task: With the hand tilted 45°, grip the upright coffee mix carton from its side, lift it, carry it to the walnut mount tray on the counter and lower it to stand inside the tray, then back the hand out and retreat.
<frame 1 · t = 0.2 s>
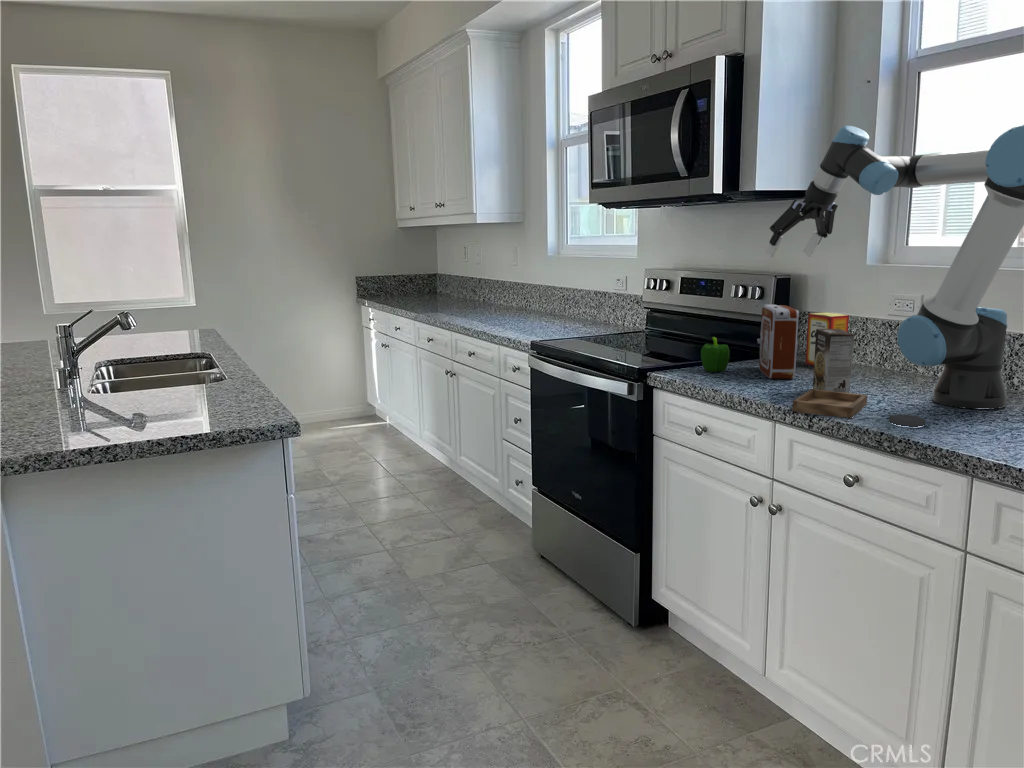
hand: (788, 254, 210), 34 cm above the worktop, tool tilted 35°, fingers open, 13 cm apart
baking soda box: (824, 366, 229), on the worktop
mount tray: (829, 408, 178), on the worktop
lens cap: (906, 425, 163), on the worktop
bell pepper: (714, 371, 224), on the worktop
vintage travel case: (774, 374, 219), on the worktop
coffee box: (830, 394, 193), on the worktop
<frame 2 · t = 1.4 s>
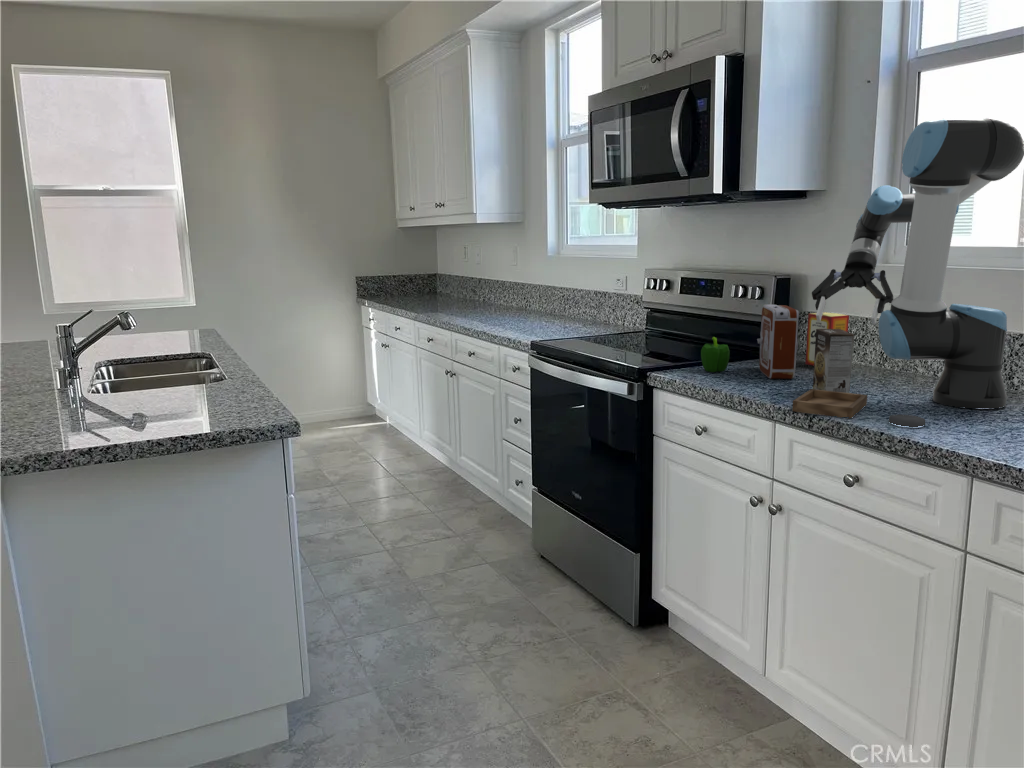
hand: (845, 320, 198), 18 cm above the worktop, tool tilted 45°, fingers open, 13 cm apart
nothing on the worktop moved.
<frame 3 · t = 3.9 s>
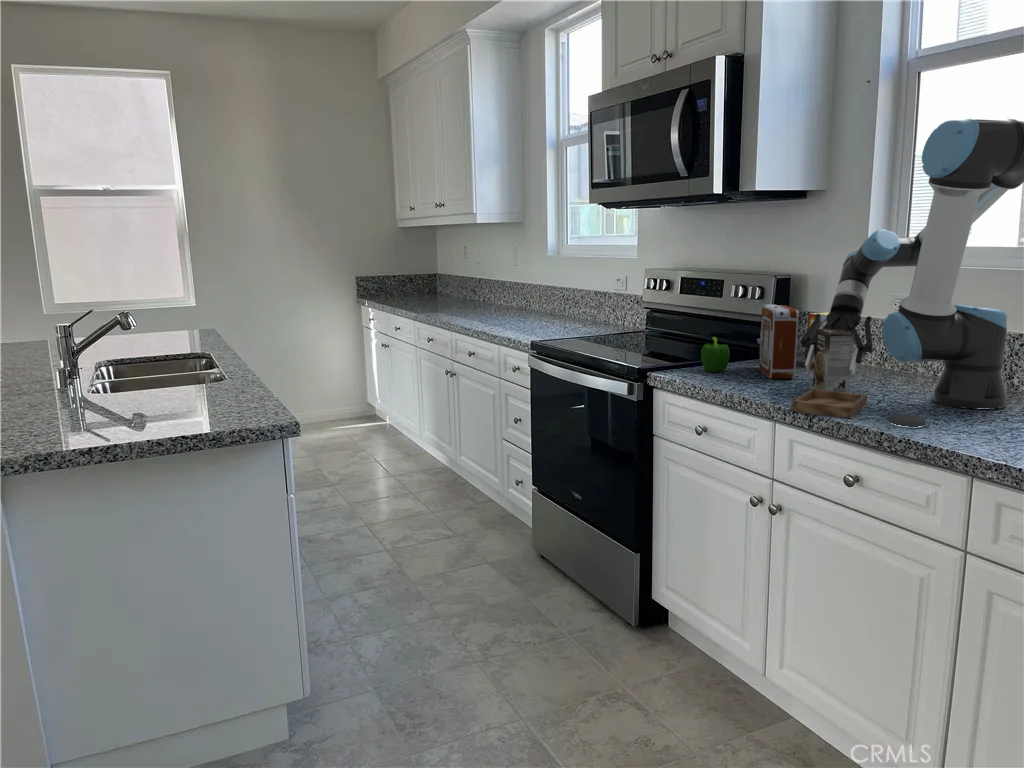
hand: (828, 370, 189), 6 cm above the worktop, tool tilted 45°, fingers closed on coffee box, 10 cm apart
coffee box: (830, 393, 193), on the worktop, touching gripper
everything else where it was.
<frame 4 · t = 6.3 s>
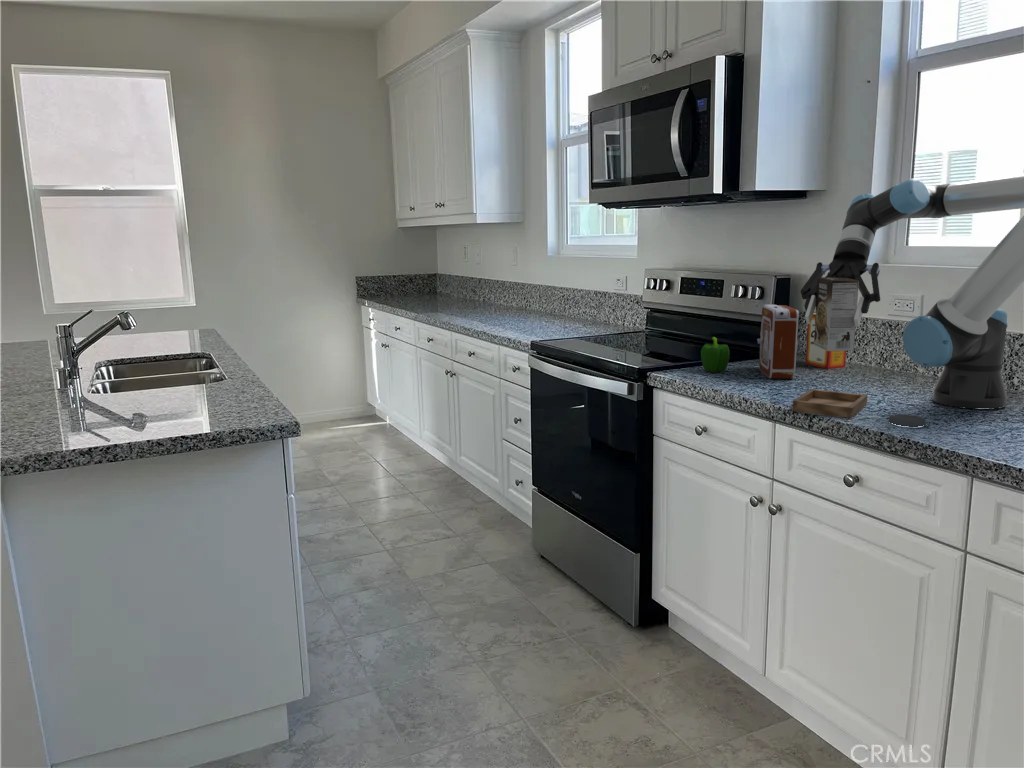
hand: (831, 321, 172), 21 cm above the worktop, tool tilted 45°, fingers closed on coffee box, 10 cm apart
coffee box: (833, 348, 175), point 14 cm above the worktop, touching gripper
everything else where it was.
when the fingers open (9 cm above the worktop, at t = 9.1 s): coffee box drops 2 cm, resting on mount tray.
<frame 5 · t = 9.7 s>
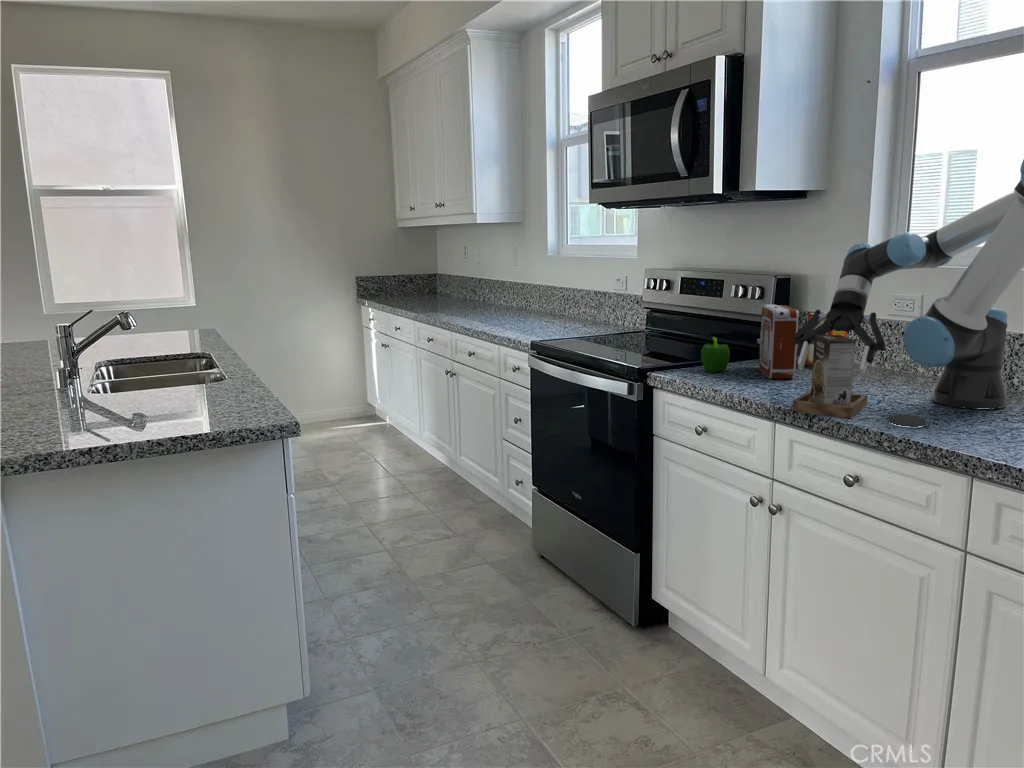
hand: (830, 369, 174), 10 cm above the worktop, tool tilted 45°, fingers open, 13 cm apart
coffee box: (829, 405, 178), point 1 cm above the worktop, touching mount tray
everything else where it was.
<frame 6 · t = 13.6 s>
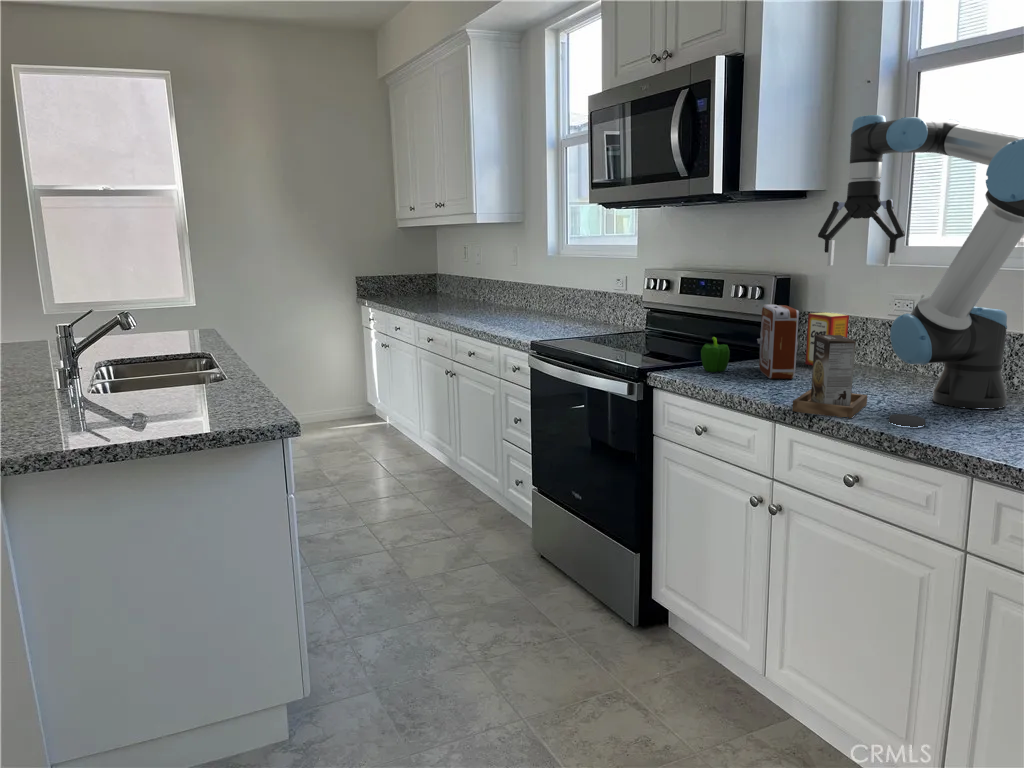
hand: (858, 266, 194), 32 cm above the worktop, tool pointing down, fingers open, 13 cm apart
nothing on the worktop moved.
at the end: coffee box inside the target area on the mount tray (0.1 cm from its centre), point 0.6 cm above the mount tray's base; coffee box tilted 0°; the gripper is holding nothing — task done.
